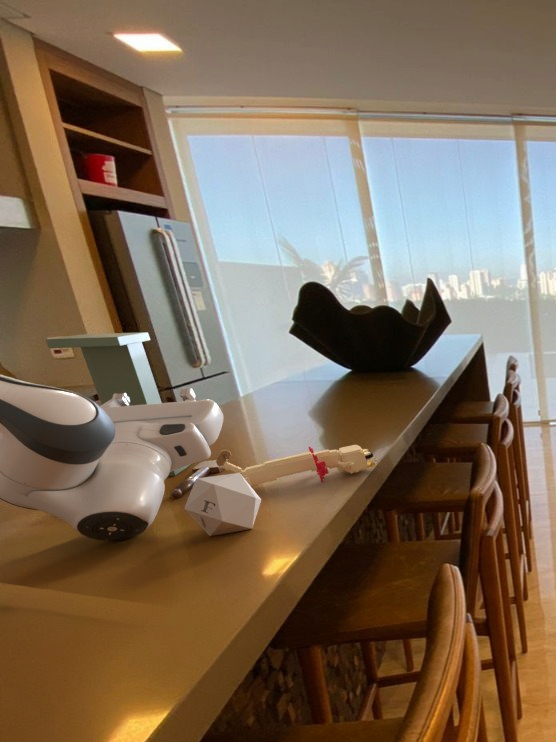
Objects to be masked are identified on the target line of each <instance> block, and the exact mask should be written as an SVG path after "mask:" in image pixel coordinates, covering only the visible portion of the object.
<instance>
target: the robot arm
mask: <svg viewBox="0 0 556 742" xmlns="http://www.w3.org/2000/svg"><path fill="white" fill-rule="evenodd" d="M179 396H180V398H181V399H182V401H173V402H171V401H170V402H162V403H158V404H145V405H133V406H129V404H128V403H130V399H129V397H127V394H126V393H117V394H114V395H113V397H112V399H111V400H109V401H107V402H106V403H104V404H103V405H99V404H98V403H96V402H95V401H94V400H92V399H90V398H89V397H87V396H84V395H83V394H80V393H78V392H75V391H72V390H69V389H64V388H60V387H59V388H58V387H55V386H48V385H44V384H37V383H33V382H28V381H25V380H20V379H17V378H14V377H11V376H7V375H4V374H0V500H1V501H3V502H5V503H7V504H9V505H11V506H15V507H17V508H21V509H22V508H23V509H26V510H33V511H40V512H42V513H45V514H48V515H50V516H53V517H55V518H57V519H60V520H61V521H63V522H65V523H67V524H68V525H70V527H72V528H73V530H75V531H76V532H77V533H78V534H80V535H82V536H83V537H85V538H89V539H91V540H95V541H102V542H117V541H124V540H129V539H132V538H135V537H137V536H139V535H141V534H142V533H144V532H145V531H146V530H147V529H149V528H150V526H151V525H152V524H153V522H154V521H155V519H156V518H157V515H158V513H159V510H160V507H161V505H162V501H163V498H164V496H165V491H166V485H165V481H166V479H167V478H169V476H168V475H169V473H170V472H172V471H174V470H177V469H179V468H181V467H184V466H187V465H190V464H191V465H194V464H195V463H199V462H202V461H207V460H209V458H210V457H211V455H212V451H211V448H210V446H212V445H213V444H214V443H216V441H217V440H218V438H219V435H220V433H221V431H222V427H223V424H224V414H223V411H222V410H221V408H220V407H219V405H218V404H217V403H216V402H215V401H214V400H213V399H199V400H198V399H197V400H196V393H195V391H194V389H193V388H192V387H189V388H181V389H180V392H179ZM191 465H190V466H191Z"/></svg>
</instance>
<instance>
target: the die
mask: <svg viewBox="0 0 556 742" xmlns="http://www.w3.org/2000/svg"><path fill="white" fill-rule="evenodd" d="M190 490H191V491H190V493H189V496H188V498H187V500H186V503H185V505H184V508H183V509H184V511H185V512H186V513H187V515H189V517H191V518H192V519H193V520H194V522H196V523H197V525H199V527H200V528H201V529H203V531H204V532H205V533H206V534H207V535H208V536H209V537H213V536H218V535H225V534H230V533H235V532H241V531H247V530H252V529H253V528H254V525H255V522H256V518H257V516H258V512H259V509H260V507H261V506H260V505H261V503H262V498H261V497H260V496H259V495H258V494H257V492H256V491H255V490H254V488H253V487H251V486H250V485H249V484H248V483H247V481H246V480H245V479H244V478H243V476H242V475H241V474H240V473H236V472H233V473H227V474H221V475H220V474H219V475H213V476H205V477H204V478H197V479H196V480H195V483H194V485H193V487H192V488H191V489H190Z"/></svg>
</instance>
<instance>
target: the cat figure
mask: <svg viewBox="0 0 556 742" xmlns="http://www.w3.org/2000/svg"><path fill="white" fill-rule="evenodd" d="M231 457H233V456H232V453H231V450H228V449H227V448H225V449H221V450H220V452H219V453H218V454H217V456H216V459H215V460H216V463H217V466H220V468H222V467H223V470H224V469H225V471H229V470H230V472H232V473H240V474H241V475H242V476H243V478H244V479H245V480H246V481H247V483H248V484H249V485H250V486H251V487H252V488H256V487H258V486H259V485H260V484H265V483H268V482H273V481H277V479H279V478H283V477H287V476H292V475H295V474H299V473H300V474H301V473H304V472H309V471H311V472H316V474H317V475H318V476H319V478H320V482H321V483H323V482H324V479H325V476H326V475H327V474H329V470H330V469H331V470H332V469H335V468H340V467H341V468H343V469H344V471H345V472H347V473H348V474H349V473H350V474H353V473H358V472H360V471H362V470H366V469H368V468H371V467H374V466H376V463H375V462H378V459H377V458H376V457H374V454H373V453H372V452H371V450H370V449H368V448H362V447H361V446H360V445H358V444H352V445H348V446H342V447H339V448H338V449H336V448H335V449H331V450H330V449H323V450H319V451H318V450H317V451H314V449H313V447H311V446H308V451H307V452H302V453H298V454H293V455H288V456H284V457H280V458H276V459H275V458H274V459H271V460H270V459H269V460H266V461H264V462H263V463H261V464H256V465H251V466H247V467H244V468H245V469H243V468H242V467H239V466H237V465H236V464H233V463H231V462H229V463H228V462H225V461H227V459H228V460H230V459H231ZM328 468H329V470H328Z"/></svg>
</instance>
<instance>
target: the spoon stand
mask: <svg viewBox="0 0 556 742" xmlns="http://www.w3.org/2000/svg"><path fill="white" fill-rule="evenodd" d="M149 341H151V337H150V333H149V332H148V331H146V332H143V331H142V332H120V333H119V332H117V333H115V332H113V333H111V332H110V333H109V332H107V333H84V334H77V335H75V334H74V335H67V336H61V337H59V336H58V337H52V338H45V342H46V344H47V347H48V349H69V348H71V349H72V348H73V349H74V348H80V351H81V353H82V356H83V359H84V361H85V364H86V367H87V370H88V372H89V375H90V378H91V380H92V382H93V386H94V388H95V391H96V394H97V396H98V399H99V402H100V404H101V405H103V404H104V403H106V402H107V401H109V400H111V399H112V397H113V395H114V394H117V393H126V394H127V397H129V399H130V403H128V404H129V406H133V405H145V404H158V403H163V402H162V399H161V396H160V393H159V390H158V386H157V384H156V381H155V378H154V375H153V372H152V369H151V366H150V363H149V360H148V357H147V354H146V350H145V348H144V345H143V342H149ZM101 405H100V406H101ZM190 466H192V464H190V465H187V466H184V467H181V468H179V469H177V470H174V471H172V472H170V473H169V475H168V477H176V476H177V475H178V474H180V473H181V472H183V471H184V470H186V469H187V468H188V467H190Z"/></svg>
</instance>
